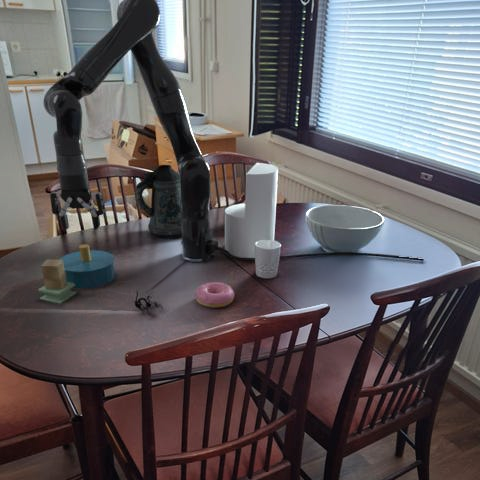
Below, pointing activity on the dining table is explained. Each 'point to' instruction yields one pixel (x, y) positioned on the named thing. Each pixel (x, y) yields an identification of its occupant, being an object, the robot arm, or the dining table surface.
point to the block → (54, 274)
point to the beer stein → (162, 202)
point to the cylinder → (253, 212)
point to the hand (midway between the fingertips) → (81, 228)
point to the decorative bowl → (343, 227)
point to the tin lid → (87, 260)
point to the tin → (91, 278)
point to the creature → (146, 304)
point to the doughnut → (214, 295)
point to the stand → (57, 293)
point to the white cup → (267, 258)
